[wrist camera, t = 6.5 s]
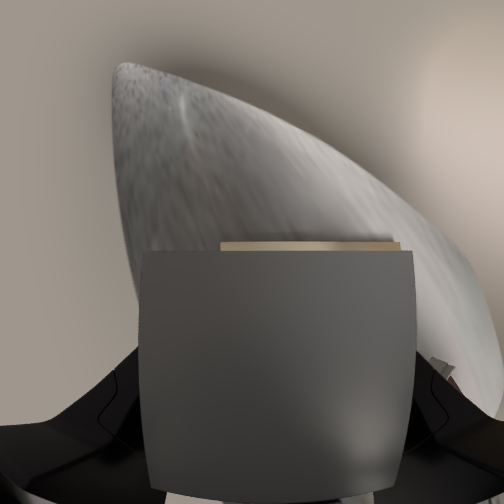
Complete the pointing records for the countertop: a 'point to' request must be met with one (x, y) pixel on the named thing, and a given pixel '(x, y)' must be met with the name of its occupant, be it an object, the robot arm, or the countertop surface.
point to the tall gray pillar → (276, 372)
